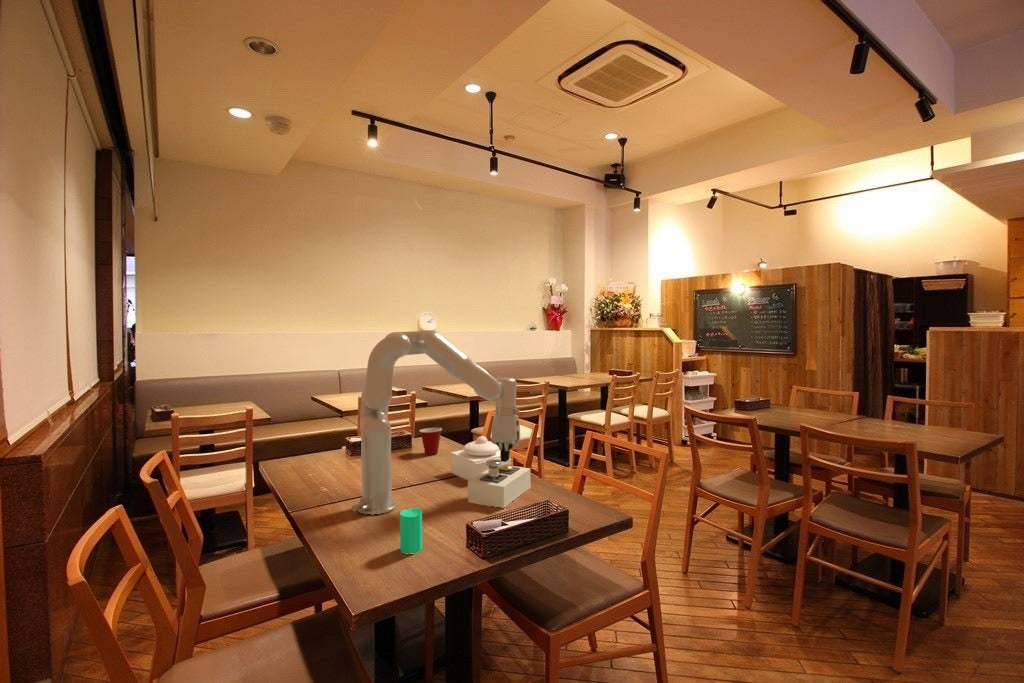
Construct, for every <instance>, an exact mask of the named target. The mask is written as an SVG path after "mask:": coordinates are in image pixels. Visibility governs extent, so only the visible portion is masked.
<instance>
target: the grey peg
mask: <svg viewBox="0 0 1024 683" xmlns="http://www.w3.org/2000/svg"><path fill="white" fill-rule="evenodd" d="M486 465H487V466H489V479H493V480H497V479H499V466H500V465H501V461H500V460H488V461H486Z"/></svg>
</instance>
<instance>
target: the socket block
mask: <svg viewBox="0 0 1024 683" xmlns="http://www.w3.org/2000/svg"><path fill="white" fill-rule="evenodd" d="M501 465H502V464H501ZM501 465H500V466H501ZM500 466H499V479H497V480H493V479H489V469H488V470H486V471H484V472H482V473H481V474H479V475H477V476H475V477H474V478H472V479H470V480H468V481H467V503H469V504H476V505H481V506H485V505H486V506H487V507H491V506H494V507H493V508H496V507H501V508H500V509H502V508H504V507H506V506H507V505H508V504H509V503H511V502H512V501H513V500H515V499H516V498H517V497H519V496H520V495H521V494H523V493H524V492H525V491H526V492H528V491H529V490H530V489H531V488H532V487H531V468H529V467H522V466H516V465H515V466H514V465H513V466H514V470H512V471H510V472H507V471H501V470H500ZM528 489H529V490H528ZM527 490H528V491H527ZM526 492H525V493H526ZM525 493H524V494H525ZM524 494H523V495H524ZM521 496H522V495H521ZM521 496H520V497H521ZM520 497H519V498H520ZM517 499H518V498H517ZM517 499H516V500H517ZM516 500H515V501H516ZM512 503H513V502H512ZM512 503H511V504H512ZM508 506H509V505H508ZM508 506H507V507H508ZM507 507H506V508H507Z"/></svg>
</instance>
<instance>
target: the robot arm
mask: <svg viewBox="0 0 1024 683" xmlns="http://www.w3.org/2000/svg"><path fill="white" fill-rule="evenodd" d="M422 354H423V355H427V356H428V358H430V359H431V360H433V361H434V362H435V363H436V364H437V365H439V366H440V367H441V368H442V369H444V370H445V371H446V372H447V373H449V374H450V375H451V376H452V377H454V378H456V379H458V380H459V381H462V382H463V383H465V385H467V386H469V387H470V388H472V389H473V391H474V393H475V395H477V397H480V398H482V399H484V400H485V401H490V402H493V401H495V413H494V414H493V418H492V421H491V422H492V423H491V442H492V443H493V444H495V445H497V446H498V447H499V450H500V458H501V462H503V461H504V462H506V461H508V460H509V457H510V456H511V454H510V452H511V450H512V448H517V447H519V446H520V443H519V442H520V440H521V426H520V418H519V415H518V414H519V413H520V409H519V408H518V409H517V380H516V379H515V378H514V377H499V378H497V377H493V375H491V374H489V373H488V371H486V370H485V369H484V368H482V367H481V366H480V365H478V364H477V363H476V362H475V361H473V360H472V359H471V358H470V357H468V356H467V355H466V354H465V353H463V352H462V351H461V350H460V349H458V347H456V345H454V344H452V343H451V342H450V340H448V339H447V338H446V337H444V336H443V335H442V334H441V333H440V332H438V331H436V330H433V329H432V330H431V329H430V330H428V329H427V330H415V331H393V332H390V333H388V334H387V335H385V337H384V338H383V339H381V340H380V341H378V343H377V344H375V346H374V347H373V348H372V350H371V352H370V353H369V356H368V361H367V370H366V377H365V384H364V386H363V388H362V390H361V395H360V396H361V397H360V398H361V399H360V411H359V430H360V438H361V439H360V441H361V444H360V446H361V448H360V449H361V450H360V451H361V454H360V455H361V456H360V459H361V462H360V463H361V497H360V498H359V501H358V503H356V504H354V505H352V506H351V510H352V512H355V513H356V511H358V512H359V513H360V514H362V513H363V514H362V515H366V514H371V515H370V516H375V515H374V514H378V515H382V513H383V514H387V513H389V512H391V511H393V510H395V509H396V508H397V501H396V500H394V499H392V494H393V493H392V426H391V423H390V420H389V419H388V418H389V406H390V404H391V402H392V399H393V375H394V367H395V364H396V363H397V361H398V360H399V359H400V358H402V357H405V356H409V355H410V356H413V355H422Z"/></svg>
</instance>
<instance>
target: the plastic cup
mask: <svg viewBox="0 0 1024 683" xmlns="http://www.w3.org/2000/svg"><path fill="white" fill-rule="evenodd" d="M442 431H443V428H442V427H430V428H429V427H427V428H423V429H422V428H421V429H419V433H420V436H421V440H422V446H423V450H424V455H426V454H427V455H426V456H435V455H434V454H436V455H437V454H438V452H439V445H440V440H441V439H440V438H441V434H442Z"/></svg>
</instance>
